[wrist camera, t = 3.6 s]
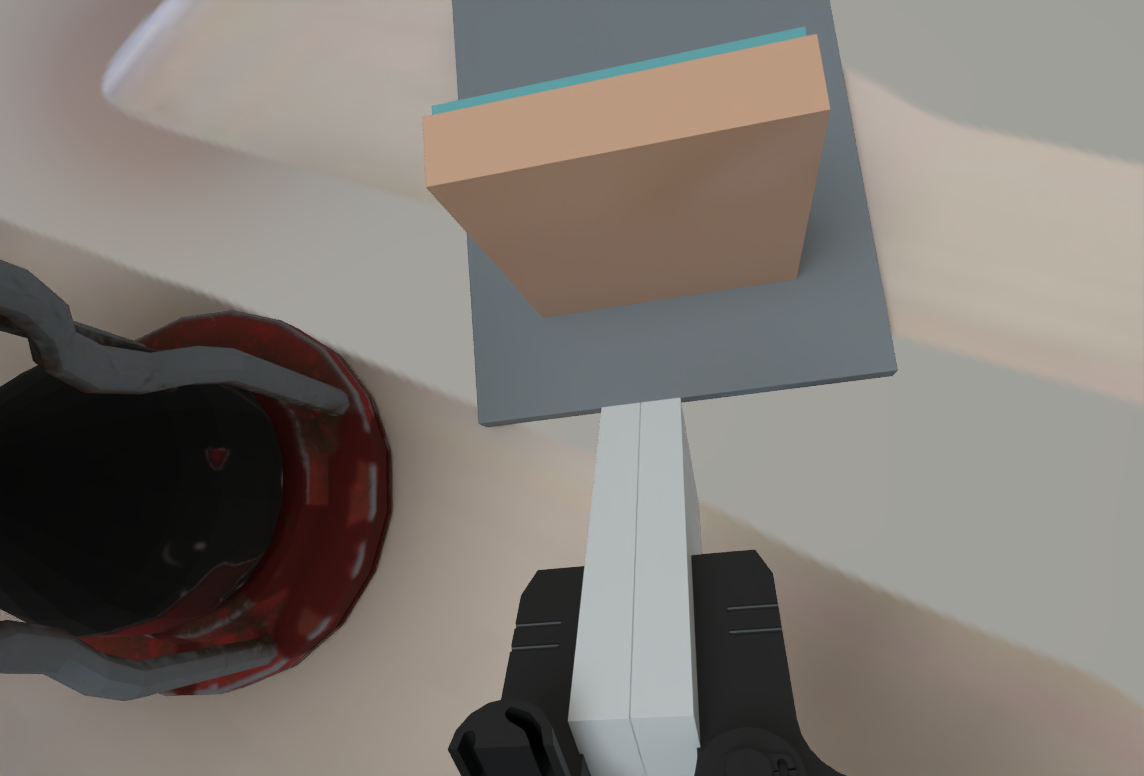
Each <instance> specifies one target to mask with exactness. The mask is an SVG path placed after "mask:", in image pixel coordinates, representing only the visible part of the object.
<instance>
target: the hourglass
mask: <svg viewBox="0 0 1144 776" xmlns="http://www.w3.org/2000/svg"><path fill="white" fill-rule="evenodd" d="M0 331H4V332H7V333H11V334H14V335H18V336H21V337H25V338H28V341H29V345H30V350H31V354H32V358H33V361H34V362H35V363H36V364H37V365H38V366H36V367H34V368H32V369H30V370H28V371H26V372H23V373H22V374H20V375H18V376H17V377H15V378H14V379H12V380H10V381H9V382H7V383H6V384H4V385H3V386H1V387H0V609H1V610H3V611H5V612H7V613H9V614H11V615H13V616H15V617H17V618H19V619H21V620H23V621H25V622H27V623H24V622H17V621H11V620H4V621H0V673H6V674H45V675H47V676H49V677H50V678H52V679H54V680H56V681H58V682H60V683H62V684H64V685H66V686H68V687H70V688H72V689H74V690H75V691H77V692H79V693H81V694H83V695H86V696H93V697H100V698H107V699H114V700H121V701H125V700H133V699H137V698H141V697H145V696H149V695H153V694H157V693H159V694H162V695H165V696H175V695H206V694H223V693H226V692H230V691H233V690H237V689H239V688H243V687H246V686H248V685H250V684H253V683H255V682H258V681H260V680H262V679H265V678H267V677H270V676H272V675H274V674H277V673H279V672H282V671H284V670H286V669H289V668H291V667H294V666H296V665H297V664H298V663H299V662H300V661H301V660H303V659H304V658H305V657H306V656H307V655H308V654H309V653H311V652H312V651H313V650H314V649H315V648H316V647H317V646H319V645H320V644H321V643H322V642H323V641H324V640H325V639H327V638H328V637H329V636H330V635H331V634H332V633H333V632H335V631H336V630H337V629H338V628H339V627H340V626H341V625H342V623H343V622H344V620H345V619H346V617H347V615H348V614H349V612H350V610H351V609H352V607H353V606H354V604H355V602H356V601H357V599H358V598H359V596H360V594H361V593H362V591H363V589H364V588H365V586H366V585H367V583H368V581H369V580H370V578H371V576H372V575H373V573H374V571H375V567H376V564H377V560H378V556H379V553H380V549H381V546H382V542H383V538H384V535H385V531H386V527H387V524H388V520H389V517H390V513H391V489H390V450H389V447H388V444H387V441H386V438H385V435H384V432H383V429H382V426H381V423H380V420H379V417H378V414H377V411H376V408H375V405H374V401H373V398H372V397H371V395H370V394H369V393H368V391H367V390H366V389H365V387H364V386H363V385H362V383H361V382H360V381H359V379H358V378H357V377H356V375H355V374H354V373H353V372H352V370H351V369H350V368H349V366H348V365H347V364H346V362H345V361H344V360H343V358H342V357H341V356H340V355H339V354H337V353H336V352H334V351H332V350H331V349H329V348H328V347H326V346H325V345H323V344H321V343H320V342H318V341H317V340H315V339H314V338H312V337H311V336H309V335H307V334H306V333H304V332H303V331H301V330H300V329H298V328H295V327H294V326H292V325H289V324H287V323H285V322H283V321H281V320H276V319H271V318H267V317H262V316H257V315H252V314H247V313H243V312H238V311H233V310H231V311H224V312H217V313H210V314H203V315H196V316H189V317H182V318H180V319H178V320H176V321H174V322H172V323H170V324H168V325H166V326H164V327H162V328H160V329H158V330H156V331H154V332H152V333H150V334H148V335H145V336H143V337H141V338H139V339H137V340H135V341H132V340H129V339H126V338H123V337H120V336H117V335H114V334H111V333H108V332H105V331H102V330H99V329H96V328H93V327H90V326H87V325H84V324H81V323H78V322H75V321H73V319H72V316H71V312H70V309H69V305H68V304H66V303H65V302H64V301H63V300H62V299H61V298H60V297H58V296H57V295H56V294H55V293H54V292H53V291H52V290H50V289H49V288H48V287H47V286H46V285H45V284H44V283H42V282H41V281H40V280H39V279H38V278H37V277H35V276H34V275H33V274H32V273H30V272H29V271H28V270H26V269H24V268H21V267H18V266H16V265H13V264H10V263H8V262H5V261H2V260H0Z"/></svg>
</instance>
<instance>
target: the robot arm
mask: <svg viewBox="0 0 1144 776" xmlns="http://www.w3.org/2000/svg"><path fill="white" fill-rule="evenodd" d="M511 646H512V652H510V656H509V661H508V666H507V671H506V677H505V682H504V687H503V692H502V698H501V700H499V701H495V702H490V703H488V704H486V705H484V706H483V707H481V708H480V709H478V710H476V711H475V712H473V713H471V714H470V715H469V716H468V717H467V718H466V720H465V721H464V722H463V723H462V724H461V725H460V726H459V727H458V729H457V730H456V732H455V734H454V736H453V738H452V741H451V743H450V745H449V748H448V751H449V753H450V755H451V757H452V759H453V761H454V763H455V765H456V766H457V768H458V770H459V772H460V774H461V776H846V775H843V774H841V773H838V772H837V771H835V770H834V769H832V768H831V767H829V766H828V765H827V764H825V763H824V762H822V761H821V760H820V759H819V758H818V757H817V756H816V755H815V754H814V752H813V751H812V750H811V749H810V748H809V746H808V745H807V743H806V741H805V740H804V738H803V736H802V735H801V732H800V728H799V725H798V722H797V717H796V711H795V705H794V699H793V693H792V687H791V681H790V675H789V669H788V663H787V657H786V650H785V644H784V638H783V632H782V626H781V620H780V614H779V608H778V602H777V596H776V590H775V584H774V577H773V573H772V572H771V570H770V569H769V568H768V566H767V565H766V564H765V562H764V561H763V560H762V558H761V557H760V556H759V554H758V553H757V552H756V550H746V551H734V552H722V553H711V554H702V545H701V530H700V514H699V503H698V498H697V492H696V486H695V481H694V475H693V469H692V463H691V457H690V451H689V446H688V440H687V434H686V428H685V422H684V416H683V411H682V405H681V399H680V398H672V399H665V400H657V401H649V402H641V403H633V404H625V405H617V406H609V407H602V409H601V418H600V427H599V437H598V446H597V455H596V465H595V474H594V483H593V492H592V502H591V511H590V520H589V529H588V539H587V548H586V557H585V566H581V567H570V568H558V569H547V570H538V571H537V572H536V574H535V575H534V577H533V578H532V580H531V581H530V583H529V584H528V586H527V587H526V589H525V590H524V592H523V593H522V595H521V599H520V604H519V609H518V614H517V619H516V629H515V630H514V635H513V640H512V645H511Z"/></svg>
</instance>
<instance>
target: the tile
mask: <svg viewBox="0 0 1144 776" xmlns="http://www.w3.org/2000/svg"><path fill="white" fill-rule="evenodd" d="M829 114H830V104H829V99H828V93H827V87H826V82H825V76H824V71H823V65H822V59H821V54H820V48H819V43H818V37H817V34H814V35H809V36H807V35H806V29H805V27H800V28H795V29H791V30H786V31H781V32H777V33H772V34H767V35H763V36H758V37H753V38H749V39H744V40H739V41H735V42H730V43H725V44H720V45H716V46H711V47H706V48H702V49H697V50H692V51H688V52H683V53H678V54H674V55H669V56H664V57H660V58H655V59H650V60H645V61H641V62H636V63H631V64H627V65H622V66H617V67H613V68H608V69H603V70H599V71H594V72H589V73H585V74H580V75H575V76H571V77H566V78H561V79H556V80H552V81H547V82H542V83H538V84H533V85H528V86H524V87H519V88H514V89H510V90H505V91H500V92H496V93H491V94H486V95H481V96H477V97H472V98H467V99H463V100H458V101H453V102H449V103H444V104H439V105H435V106H432V115H430V116H425V117H422V118H423V138H424V157H425V177H426V188H427V189H428V190H429V191H430V192H431V193H432V194H433V195H434V197H435V198H436V199H437V200H438V201H439V202H440V203H441V204H442V205H443V207H444V208H445V209H446V210H447V211H448V212H449V213H450V214H451V216H452V217H453V218H454V219H455V220H456V221H457V222H458V223H459V224H460V226H461V227H462V228H463V229H464V230H465V231H466V232H467V233H468V235H469V236H470V237H471V238H472V239H473V240H474V241H475V242H476V243H477V245H478V246H479V247H480V248H481V249H482V250H483V251H484V252H485V253H486V255H487V256H488V257H489V258H490V259H491V260H492V261H493V262H494V264H495V265H496V266H497V267H498V268H499V269H500V270H501V271H502V272H503V274H504V275H505V276H506V277H507V278H508V279H509V280H510V281H511V283H512V284H513V285H514V286H515V287H516V288H517V289H518V290H519V291H520V293H521V294H522V295H523V296H524V297H525V298H526V299H527V300H528V302H529V303H530V304H531V305H532V306H533V307H534V308H535V309H536V310H537V312H538V313H539V314H540V315H541V316H542V317H543V318H545V317H551V316H558V315H564V314H571V313H577V312H584V311H591V310H597V309H604V308H610V307H617V306H623V305H630V304H636V303H643V302H649V301H656V300H663V299H669V298H676V297H682V296H689V295H695V294H702V293H708V292H715V291H722V290H728V289H735V288H741V287H748V286H754V285H761V284H767V283H774V282H780V281H787V280H794V279H796V278H797V273H798V268H799V263H800V258H801V253H802V248H803V243H804V238H805V233H806V228H807V223H808V218H809V214H810V209H811V204H812V199H813V194H814V189H815V184H816V179H817V174H818V169H819V164H820V159H821V154H822V149H823V144H824V139H825V134H826V129H827V124H828V119H829Z"/></svg>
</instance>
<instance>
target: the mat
mask: <svg viewBox="0 0 1144 776" xmlns="http://www.w3.org/2000/svg"><path fill="white" fill-rule="evenodd" d="M452 6H453V22H454V38H455V54H456V70H457V85H458V100H463V99H467V98H472V97H477V96H481V95H486V94H491V93H496V92H500V91H505V90H510V89H514V88H519V87H524V86H528V85H533V84H538V83H542V82H547V81H552V80H556V79H561V78H566V77H571V76H575V75H580V74H585V73H589V72H594V71H599V70H603V69H608V68H613V67H617V66H622V65H627V64H631V63H636V62H641V61H645V60H650V59H655V58H660V57H664V56H669V55H674V54H678V53H683V52H688V51H692V50H697V49H702V48H706V47H711V46H716V45H720V44H725V43H730V42H735V41H739V40H744V39H749V38H753V37H758V36H763V35H767V34H772V33H777V32H781V31H786V30H791V29H795V28H800V27H805V29H806V35H807V36H809V35H814V34H817V37H818V43H819V48H820V54H821V59H822V65H823V71H824V76H825V82H826V87H827V93H828V99H829V104H830V114H829V119H828V124H827V129H826V134H825V139H824V144H823V149H822V154H821V159H820V164H819V169H818V174H817V179H816V184H815V189H814V194H813V199H812V204H811V209H810V214H809V218H808V223H807V228H806V233H805V238H804V243H803V248H802V253H801V258H800V263H799V268H798V273H797V278H796V279H794V280H787V281H780V282H774V283H767V284H761V285H754V286H748V287H741V288H735V289H728V290H722V291H715V292H708V293H702V294H695V295H689V296H682V297H676V298H669V299H663V300H656V301H649V302H643V303H636V304H630V305H623V306H617V307H610V308H604V309H597V310H591V311H584V312H577V313H571V314H564V315H558V316H551V317H545V318H543V317H542V316H541V315H540V314H539V313H538V312H537V310H536V309H535V308H534V307H533V306H532V305H531V304H530V303H529V302H528V300H527V299H526V298H525V297H524V296H523V295H522V294H521V293H520V291H519V290H518V289H517V288H516V287H515V286H514V285H513V284H512V283H511V281H510V280H509V279H508V278H507V277H506V276H505V275H504V274H503V272H502V271H501V270H500V269H499V268H498V267H497V266H496V265H495V264H494V262H493V261H492V260H491V259H490V258H489V257H488V256H487V255H486V253H485V252H484V251H483V250H482V249H481V248H480V247H479V246H478V245H477V243H476V242H475V241H474V240H473V239H472V238H471V237H470V236H469V235H468V233H467V245H468V259H469V260H468V261H469V276H470V292H471V308H472V323H473V340H474V355H475V372H476V387H477V404H478V420H479V424H481V425H483V426H485V427H491V426H499V425H507V424H515V423H523V422H531V421H538V420H547V419H554V418H563V417H570V416H579V415H586V414H594V413H601V409H602V407H609V406H617V405H625V404H633V403H641V402H649V401H657V400H665V399H672V398H680V399H681V403H682V402H689V401H697V400H704V399H713V398H721V397H729V396H737V395H744V394H753V393H760V392H769V391H777V390H784V389H792V388H800V387H808V386H816V385H824V384H832V383H840V382H848V381H856V380H864V379H870V378H880V377H887V376H893V375H894V374H895V373H896V372H897V370H898V369H897V363H896V359H895V353H894V347H893V342H892V336H891V331H890V326H889V320H888V315H887V309H886V304H885V298H884V293H883V288H882V282H881V277H880V271H879V266H878V260H877V255H876V250H875V244H874V239H873V233H872V228H871V223H870V217H869V212H868V206H867V201H866V195H865V190H864V185H863V179H862V174H861V168H860V163H859V158H858V152H857V147H856V141H855V136H854V130H853V125H852V120H851V114H850V109H849V103H848V98H847V93H846V87H845V82H844V76H843V71H842V65H841V60H840V55H839V49H838V44H837V38H836V33H835V28H834V22H833V17H832V11H831V6H830V0H452Z"/></svg>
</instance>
